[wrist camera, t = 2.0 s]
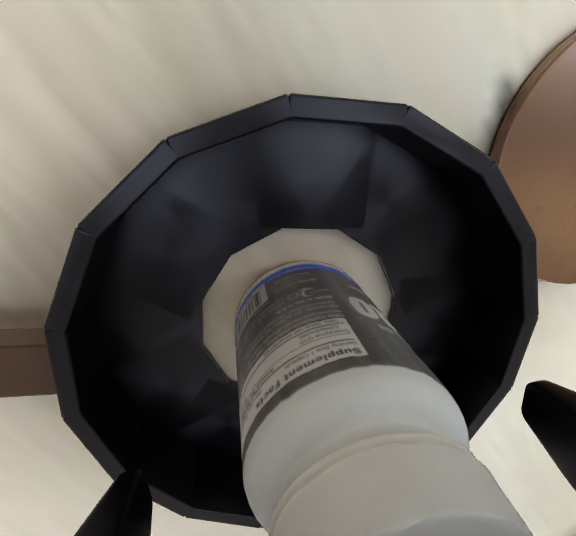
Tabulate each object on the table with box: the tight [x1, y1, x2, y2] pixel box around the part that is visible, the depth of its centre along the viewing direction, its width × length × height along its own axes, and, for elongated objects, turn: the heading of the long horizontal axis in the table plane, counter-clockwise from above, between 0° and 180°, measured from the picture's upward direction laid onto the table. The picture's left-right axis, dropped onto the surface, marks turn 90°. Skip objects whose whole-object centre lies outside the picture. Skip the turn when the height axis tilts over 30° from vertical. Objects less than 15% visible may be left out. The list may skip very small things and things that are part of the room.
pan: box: [0, 93, 539, 528], centre depth 11 cm, size 14×22×3 cm, turn 85°
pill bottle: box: [235, 261, 533, 536], centre depth 9 cm, size 5×5×8 cm
